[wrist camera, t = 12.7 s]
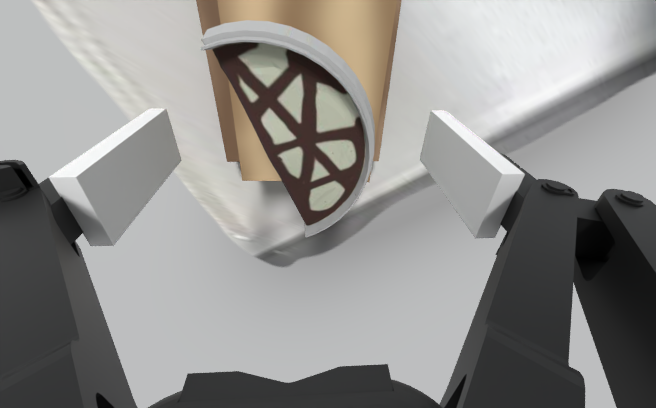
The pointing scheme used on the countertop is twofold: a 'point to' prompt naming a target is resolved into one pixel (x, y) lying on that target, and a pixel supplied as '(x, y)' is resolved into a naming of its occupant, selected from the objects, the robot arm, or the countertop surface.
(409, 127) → the countertop surface
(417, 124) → the countertop surface
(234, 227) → the countertop surface
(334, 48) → the tower top
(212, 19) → the tower base
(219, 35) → the food container
